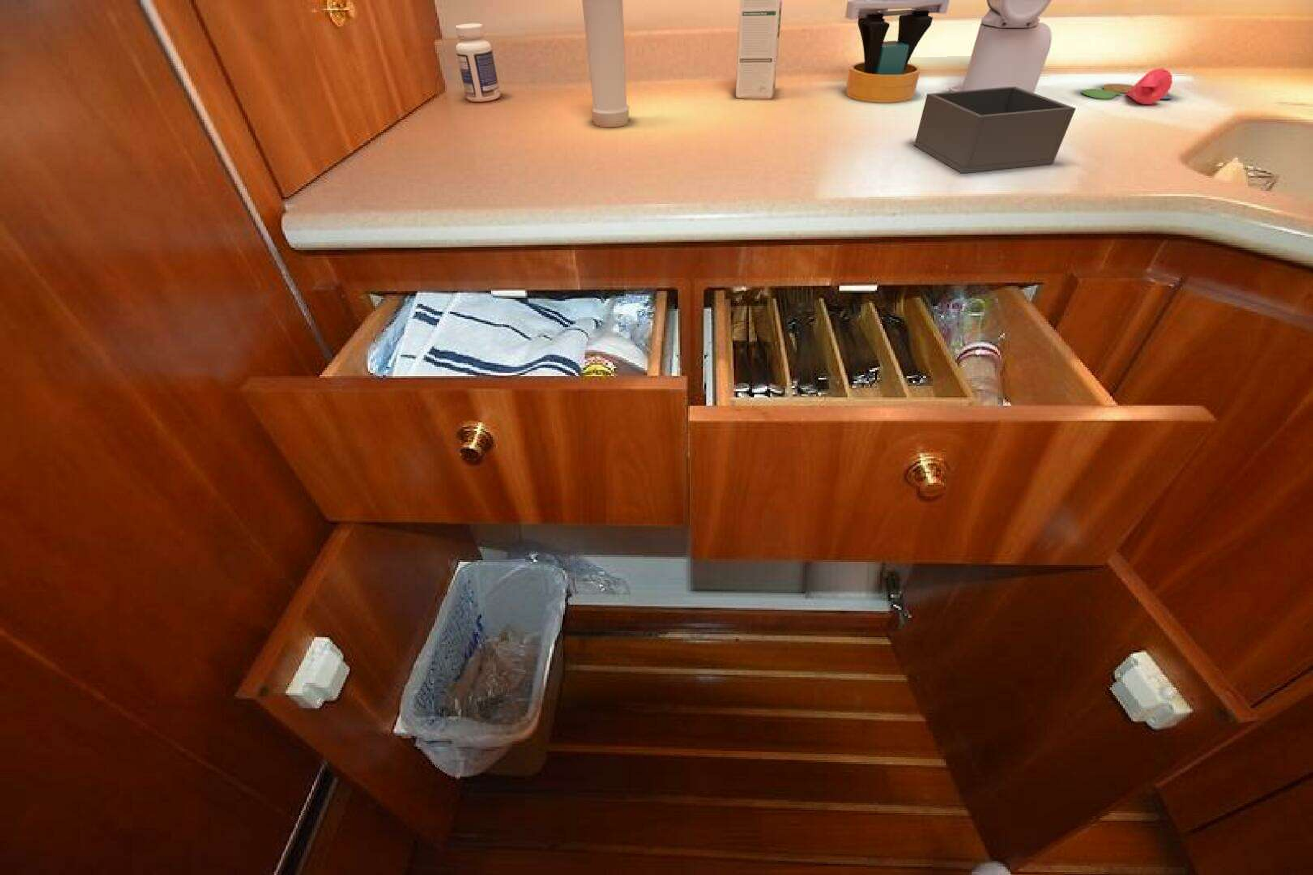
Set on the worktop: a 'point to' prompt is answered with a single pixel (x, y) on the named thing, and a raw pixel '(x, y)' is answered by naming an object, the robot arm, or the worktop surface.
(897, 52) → the toy block
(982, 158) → the bin
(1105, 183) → the worktop surface
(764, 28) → the syrup box
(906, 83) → the bowl
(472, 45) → the pill bottle
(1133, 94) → the toy pieces
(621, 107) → the bottle
